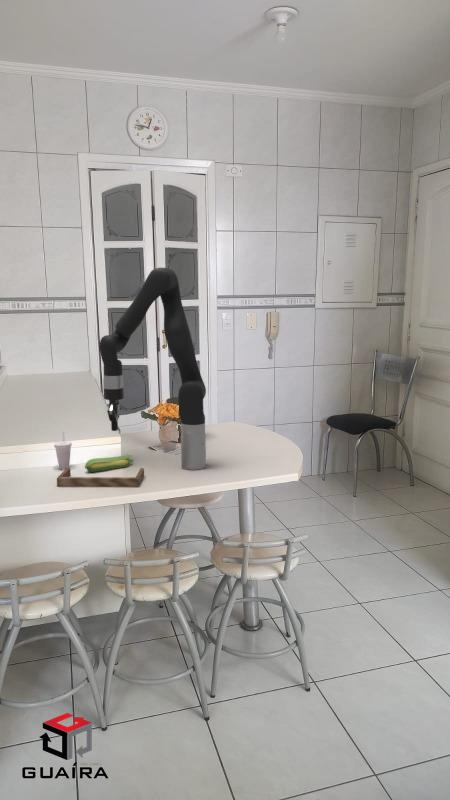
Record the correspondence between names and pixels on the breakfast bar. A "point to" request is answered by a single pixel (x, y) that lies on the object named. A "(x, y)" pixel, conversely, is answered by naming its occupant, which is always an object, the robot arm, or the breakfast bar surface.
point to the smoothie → (63, 453)
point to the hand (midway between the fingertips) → (114, 430)
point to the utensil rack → (98, 480)
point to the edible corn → (108, 463)
